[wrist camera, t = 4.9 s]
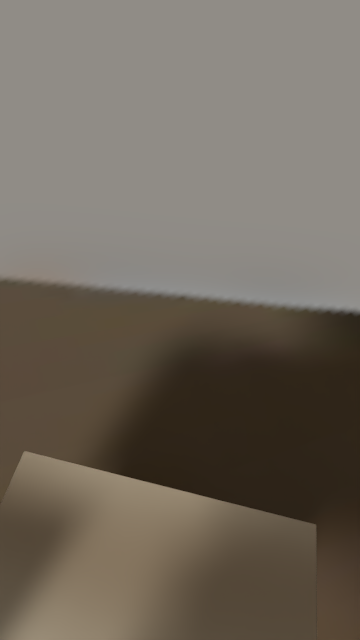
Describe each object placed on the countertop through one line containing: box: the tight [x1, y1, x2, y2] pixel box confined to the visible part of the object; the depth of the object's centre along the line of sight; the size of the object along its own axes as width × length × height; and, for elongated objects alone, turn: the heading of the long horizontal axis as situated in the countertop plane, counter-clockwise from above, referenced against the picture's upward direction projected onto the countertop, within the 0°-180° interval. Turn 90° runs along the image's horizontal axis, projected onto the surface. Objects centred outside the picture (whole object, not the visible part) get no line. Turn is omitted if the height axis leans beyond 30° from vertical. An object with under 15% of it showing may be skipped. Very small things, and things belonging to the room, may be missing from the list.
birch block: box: [0, 451, 317, 640], centre depth 9 cm, size 6×6×10 cm
